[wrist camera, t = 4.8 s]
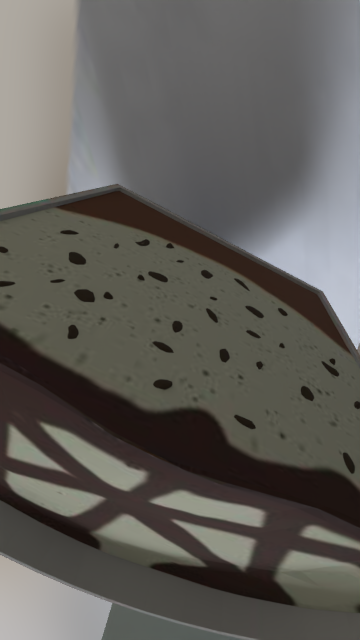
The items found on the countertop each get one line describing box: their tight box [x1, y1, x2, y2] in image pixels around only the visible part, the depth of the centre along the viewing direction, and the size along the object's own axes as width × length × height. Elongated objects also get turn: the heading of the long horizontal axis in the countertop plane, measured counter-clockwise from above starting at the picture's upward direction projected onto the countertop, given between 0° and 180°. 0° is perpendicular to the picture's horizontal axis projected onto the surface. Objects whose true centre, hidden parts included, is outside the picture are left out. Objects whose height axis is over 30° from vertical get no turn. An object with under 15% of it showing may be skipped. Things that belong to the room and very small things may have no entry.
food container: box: [0, 184, 360, 640], centre depth 9 cm, size 12×6×10 cm, turn 66°
